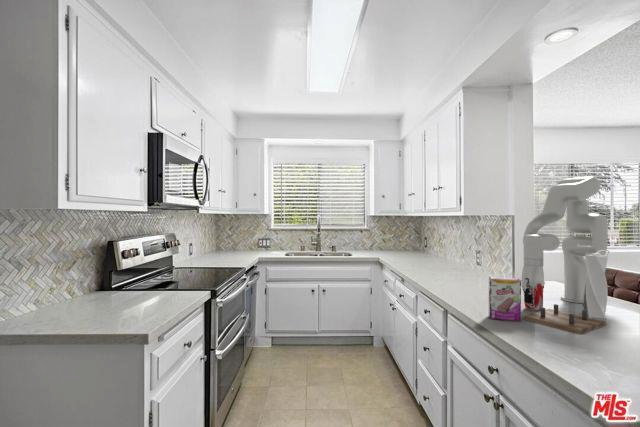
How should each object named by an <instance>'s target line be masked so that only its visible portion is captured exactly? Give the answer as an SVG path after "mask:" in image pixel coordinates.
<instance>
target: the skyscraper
mask: <svg viewBox="0 0 640 427" xmlns="http://www.w3.org/2000/svg"><path fill="white" fill-rule="evenodd" d="M600 251H606V252H607V253H606V254H607V255H604V256H602V255H601V254H600V253H598V252H600ZM609 254H610V250H609V249H607V250H599V251H597V252H596V253H592V254H585V256H584V259H585V260H586V266H587V272H588V274H587V279H586V284H585V288H584V290H585V293H584V294H583V296H584V303H582V307H583V309H582V310H586V311H587V317H590V318H594V319H598V318H599V320H607V318H606V312H607V305H608V297H609V296H608V293H609V292H608V290H609V289H608V282H607V278H606V269H607V263H608V258H609Z"/></svg>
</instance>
